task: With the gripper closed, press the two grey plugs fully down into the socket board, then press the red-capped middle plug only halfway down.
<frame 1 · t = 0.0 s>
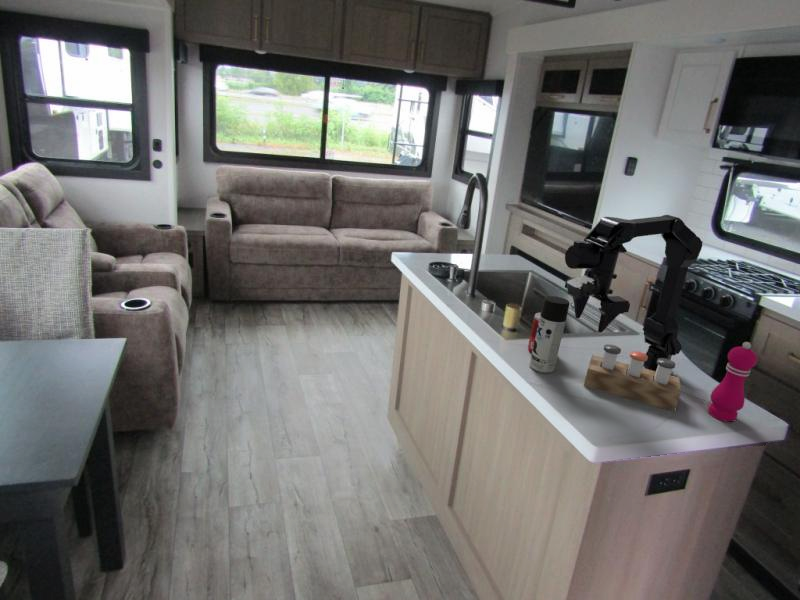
hand: (588, 324, 145), 15 cm above the table, tool pointing down, fingers open, 9 cm apart
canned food: (541, 352, 162), on the table
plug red: (635, 366, 143), point 7 cm above the table, slide at 0.0 cm
pepper mill: (721, 415, 138), on the table
plug b: (662, 373, 140), point 7 cm above the table, slide at 0.0 cm
plug a: (609, 359, 145), point 7 cm above the table, slide at 0.0 cm
socket board: (628, 390, 145), on the table
chef's knife: (685, 392, 149), on the table
spray can: (541, 368, 152), on the table
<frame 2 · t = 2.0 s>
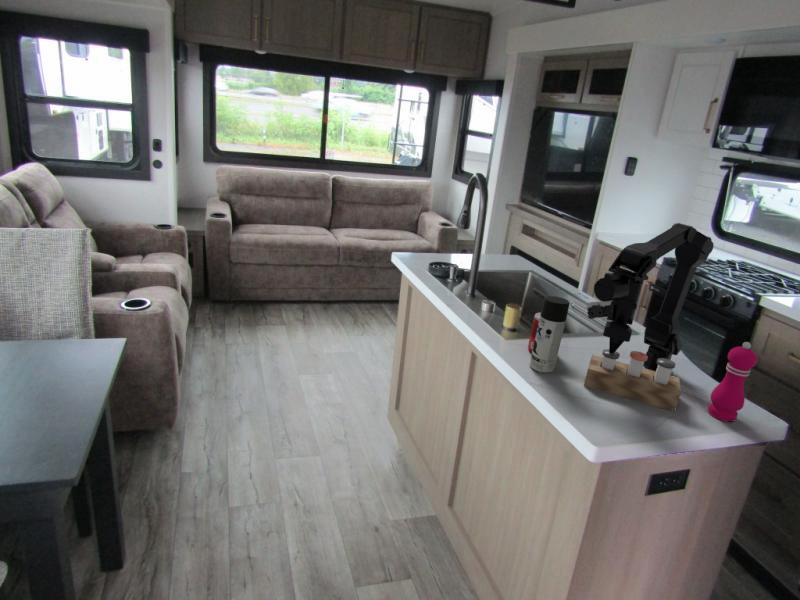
hand: (611, 352, 144), 9 cm above the table, tool pointing down, fingers closed, pressing on plug a
plug a: (608, 364, 145), point 5 cm above the table, slide at 1.4 cm, touching gripper
everything else where it was.
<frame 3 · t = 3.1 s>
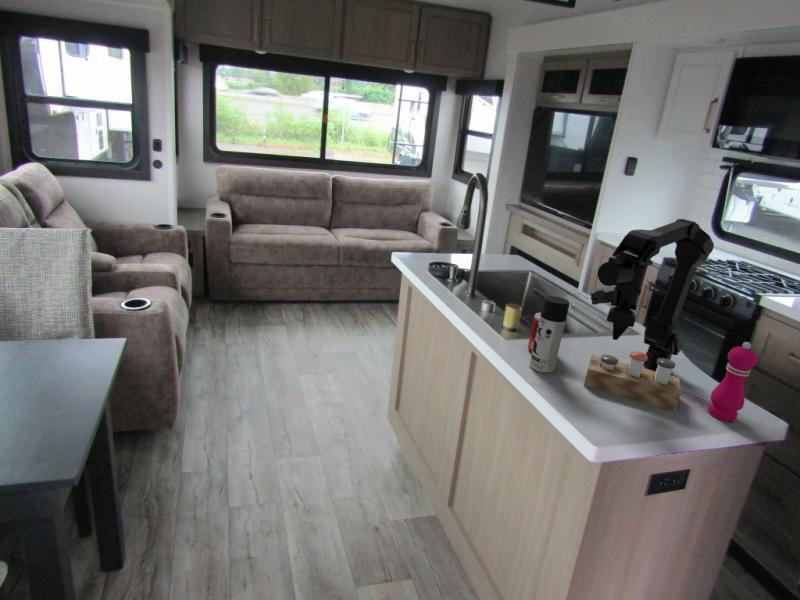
hand: (614, 339, 143), 13 cm above the table, tool pointing down, fingers closed
plug a: (606, 369, 146), point 4 cm above the table, slide at 3.0 cm
everything else where it was.
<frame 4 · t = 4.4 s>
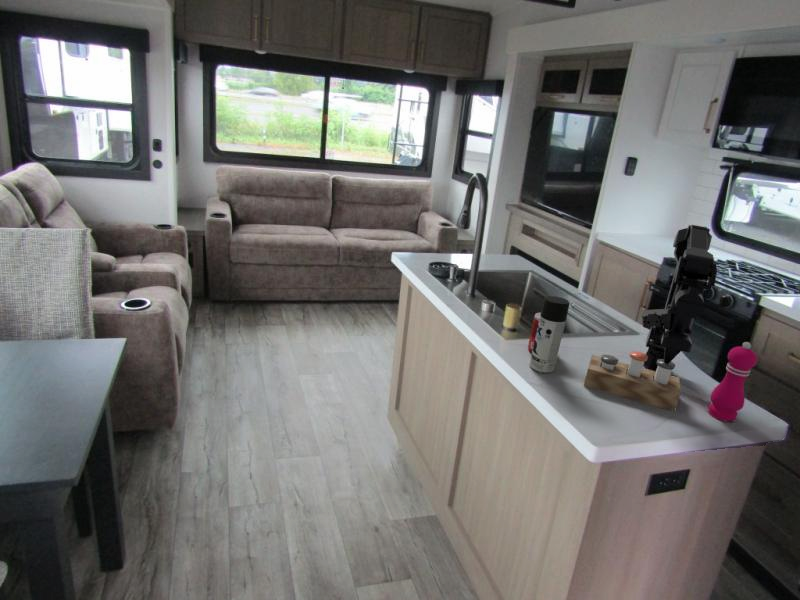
hand: (666, 362, 139), 10 cm above the table, tool pointing down, fingers closed, pressing on plug b
plug b: (662, 374, 140), point 7 cm above the table, slide at 0.3 cm, touching gripper
everything else where it was.
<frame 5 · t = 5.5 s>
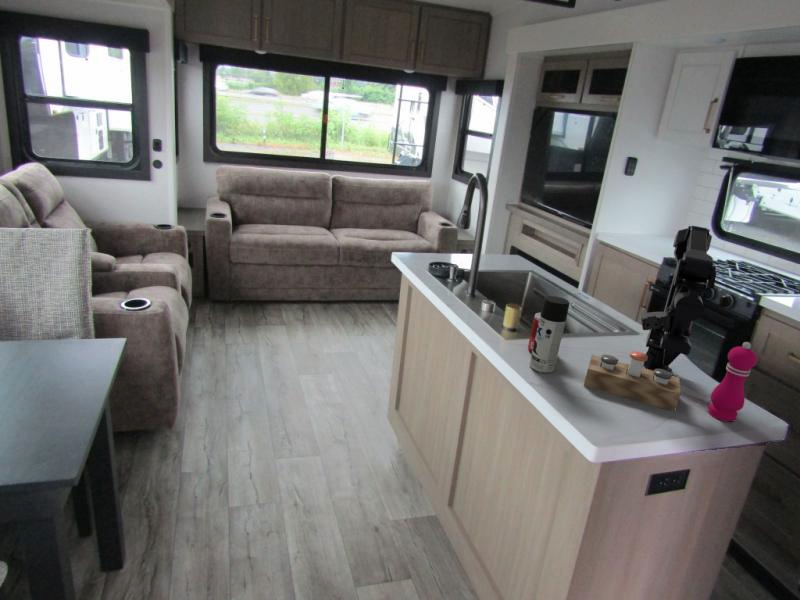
hand: (665, 365, 139), 9 cm above the table, tool pointing down, fingers closed
plug b: (659, 384, 141), point 4 cm above the table, slide at 3.0 cm
everything else where it was.
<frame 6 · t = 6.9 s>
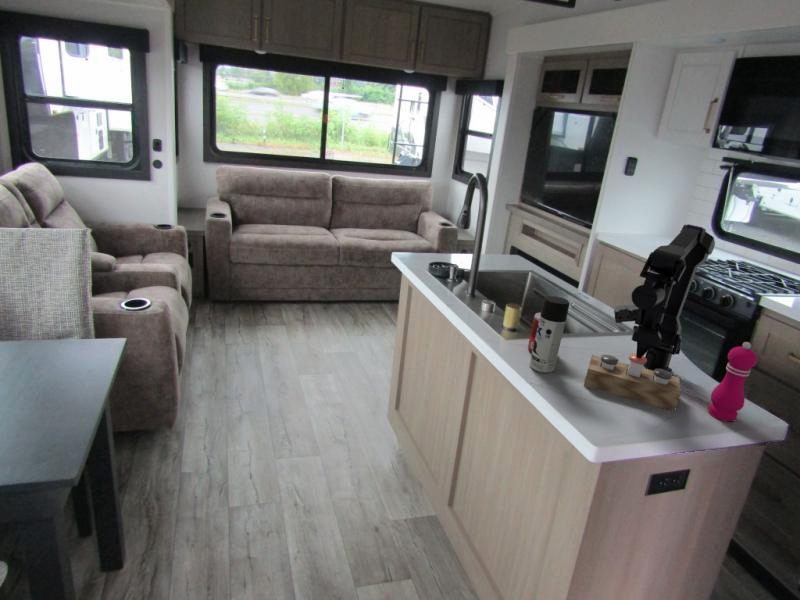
hand: (638, 357, 142), 10 cm above the table, tool pointing down, fingers closed, pressing on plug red
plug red: (634, 369, 143), point 6 cm above the table, slide at 0.8 cm, touching gripper
everything else where it was.
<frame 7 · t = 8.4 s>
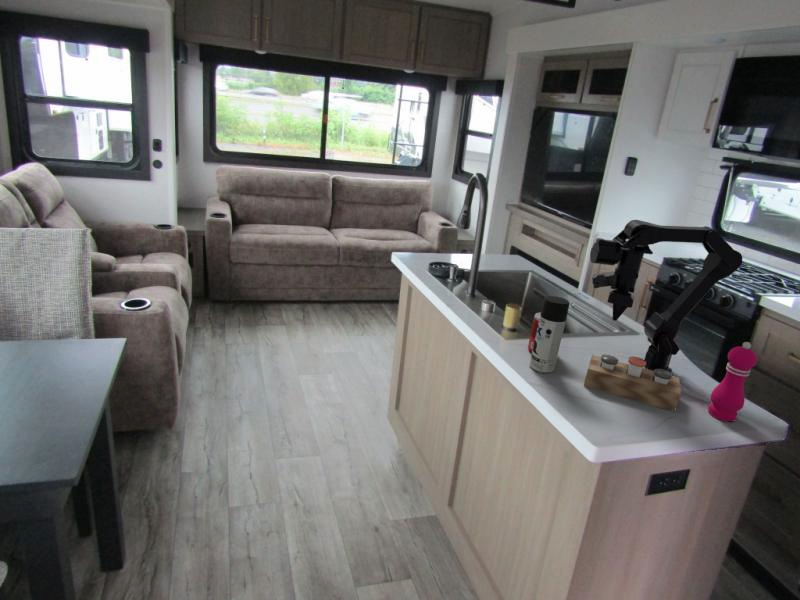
hand: (614, 320, 156), 13 cm above the table, tool pointing down, fingers closed
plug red: (634, 372, 143), point 5 cm above the table, slide at 1.6 cm
everything else where it was.
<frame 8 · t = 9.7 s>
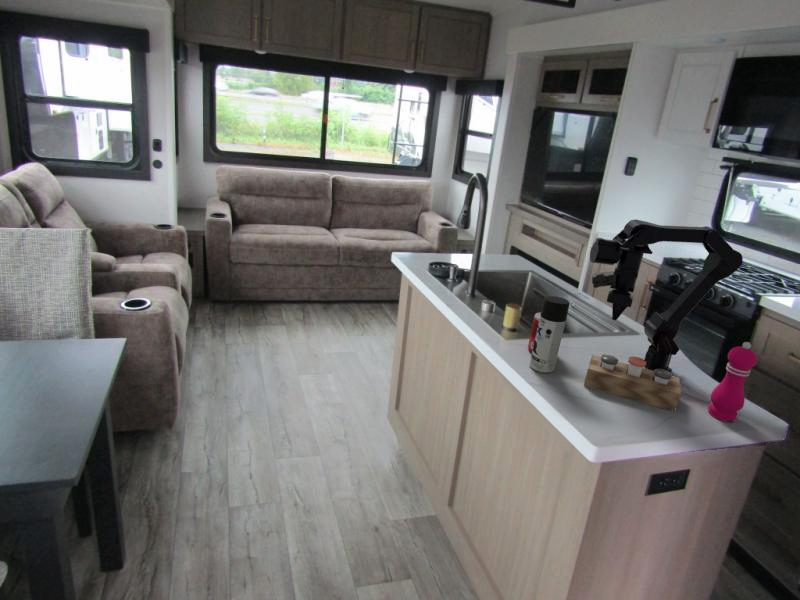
hand: (614, 319, 156), 13 cm above the table, tool pointing down, fingers closed
nothing on the table moved.
at the end: plug a slide at 3.0 cm; plug b slide at 3.0 cm; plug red slide at 1.6 cm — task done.
